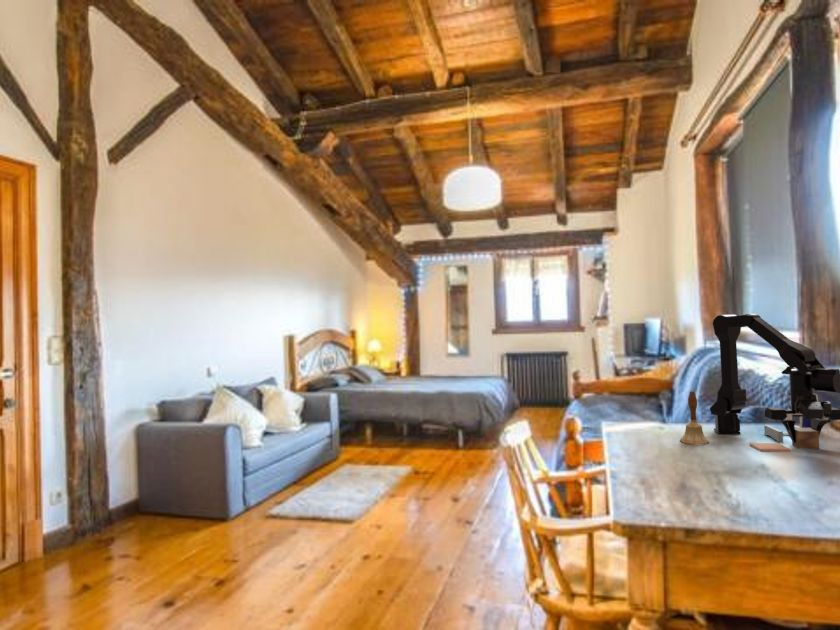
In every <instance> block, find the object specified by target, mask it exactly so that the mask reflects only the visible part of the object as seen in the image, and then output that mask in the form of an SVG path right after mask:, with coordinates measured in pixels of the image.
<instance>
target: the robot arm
mask: <svg viewBox="0 0 840 630" xmlns="http://www.w3.org/2000/svg"><path fill="white" fill-rule="evenodd" d="M712 326H713V327H712V328H713V333H714V335H715V336H716V338H717V340H718V342H719V351H720V353H719V354H720V355H719V356H720V372H721V374H720V375H721V384H720V386H719V389H718V390H717V395H716V402H714V403H713V404H712V405H711V406H710V407H709V410H710V413H711V415H713V416H714V424H715V425H714V428H713V431H715V432H716V433H718V434H721V435H724V434H725V435H726V434H728V435H729V433H735V434H736V433H737V434H736V435H739V434H738V433H741V420H740V418H739V415H738V414H741V413H742V410H743V408H744V407H745V406H746V402H748V399H747V389H746V388H743V389H742V387H741V386H740V384H739V370H738V350H737V340H738V338H739V336H740V335H741V331H742V328H745V327H746V328H749V330H751V331H752V332H754V333H755V334H756V335H757V336H759V337H760V338H762V340H764V341H765V342H766V343H767V344H769V345H770V346H771V347H773V348H774V349H775V350H776V351H777V353H778V355H779V356H780V358H781V359H782V361H784V362H785V364H786V365H787V366H786V367H785V369H784V370H782V371H781V374H782V375H789V377H788V378H789V392H788V396H790V397H789V398H790V405H789V406H788V408H789V410H788V409H787V410H786V409H784V408H781V407H766V408H765V410H764V417H766V418H767V419H770V420H774V421H775V420H777V421H780V422H781V423H782V424H783V426H784V428H785V430H786V433H788V434H789V436H788V437H790V439H791V443H792V442H794V443H796V436H795V427H794V425H796V420H793V417H797V418H798V417H799V418H800V417H804V418H806V419H811V429H814V430H816V431H819V435H820V434H821V431H822V430H823V427H824V426H825V425H826V424H828V423H831V422H832V420H834V421H836V420H839V421H840V408H836V407H833V406H832V403H831V402H830V401H829V400H826V401H825V400H823V401H818V402H817V399H816V395H815V394H816V393H814V392H821V393H833V394H840V369H839V368H826V367H824V365H823V364H822V363H821V361H819V360H818V358H817V357H816V353H815V351H814V350H813V349H811V348H810V347H808V346H806V345H805V344H802V343H800V342H797V341H794V340H791V339H790V338H788V337H787V336H786V335H784V334H783V333H782V332H780V331H779V330H778V329H776V328H775V327H774V326H772V325H771V324H770V323H768V322H767V321H765V319H763V318H762V317H761V316H760V315H759V314H757V313H746V314H742V315H737V314H719V315H716V316H715V317H714V318H713V320H712ZM735 434H734V435H735Z"/></svg>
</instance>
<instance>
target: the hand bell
mask: <svg viewBox="0 0 840 630" xmlns="http://www.w3.org/2000/svg"><path fill="white" fill-rule="evenodd" d="M687 402H688V408H689V410H690V422H689V423H687V424H686V425H685V431H684V433H683V436H682V437H681V438H680V439H679V442H680V441H681V443H683V444H686V443H688V444H687V445H695V444H704V445H706V444H705V443H708V442H709V443H710V440H709V439H707V437H706V436H705V434H704V432H703V431H704V430H703V426H702V424H700V423H699V422H697V421H698V419H697V408H698V398H697V396H696V393H695V391H693V390H691V391H689V394H688V397H687ZM709 443H708V444H709Z"/></svg>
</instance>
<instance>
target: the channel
mask: <svg viewBox="0 0 840 630" xmlns="http://www.w3.org/2000/svg"><path fill="white" fill-rule="evenodd" d="M794 427H795V428H801V427H800V426H799V425H796V424H795V425H794ZM763 430H764V432H763V433H764V435H765V434H767V435H769V436H771V437H772V438H771V437H770V438H771V439H773V438H774V439H773V440H775V439H776V440H775V441H777V440H778V442H784V437H785V436H787V437H790V436H789V434H788V432H784V431H783V430H780V429H778V428H776V427H774V426H772V425H769V424H764V429H763ZM767 435H766V436H767ZM769 436H768V437H769Z"/></svg>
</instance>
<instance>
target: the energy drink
mask: <svg viewBox="0 0 840 630" xmlns="http://www.w3.org/2000/svg"><path fill="white" fill-rule="evenodd" d="M814 394H815V395H816V399H817V402H819V397H818V394H817V393H814ZM799 427H801V428H811V419H806V418H804V417H799Z"/></svg>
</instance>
